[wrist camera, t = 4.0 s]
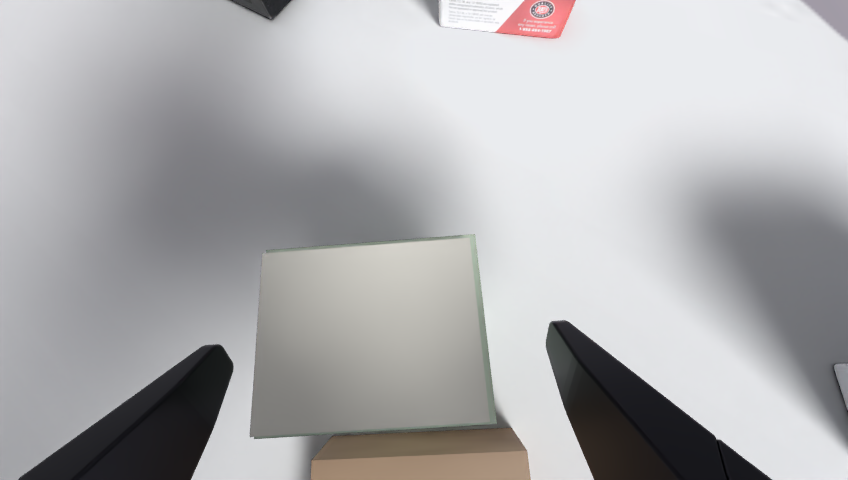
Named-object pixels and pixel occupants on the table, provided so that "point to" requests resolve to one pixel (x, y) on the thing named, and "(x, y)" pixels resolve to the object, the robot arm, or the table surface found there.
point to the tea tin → (371, 339)
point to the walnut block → (424, 456)
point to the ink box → (842, 380)
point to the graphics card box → (264, 6)
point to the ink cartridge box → (507, 16)
